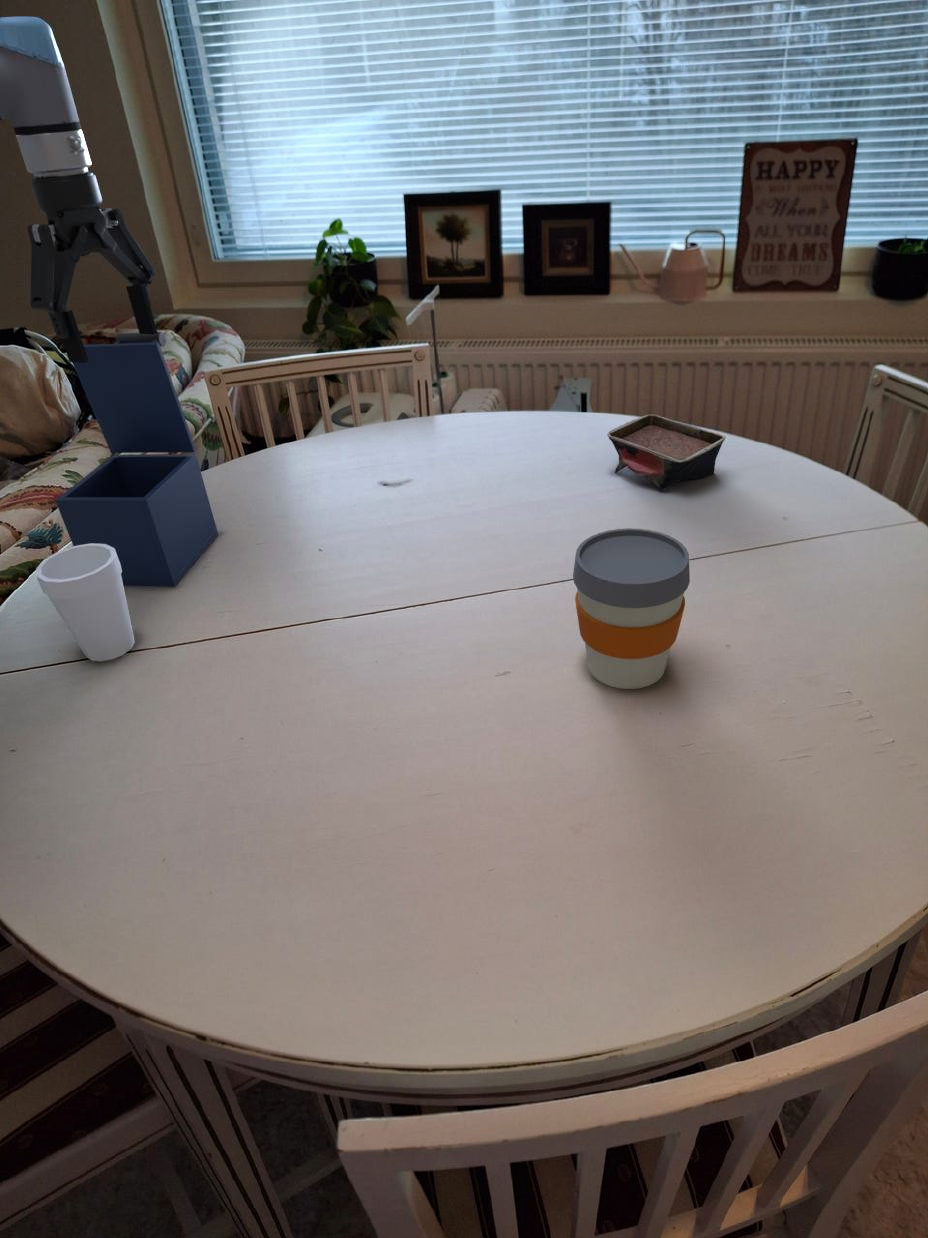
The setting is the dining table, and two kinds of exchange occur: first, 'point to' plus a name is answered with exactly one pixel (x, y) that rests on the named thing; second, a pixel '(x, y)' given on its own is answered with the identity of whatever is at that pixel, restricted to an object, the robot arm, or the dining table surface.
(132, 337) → the lid
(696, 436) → the bonsai pot
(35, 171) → the robot arm
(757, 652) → the dining table surface
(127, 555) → the box
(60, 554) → the foam cup
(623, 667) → the reusable coffee cup
